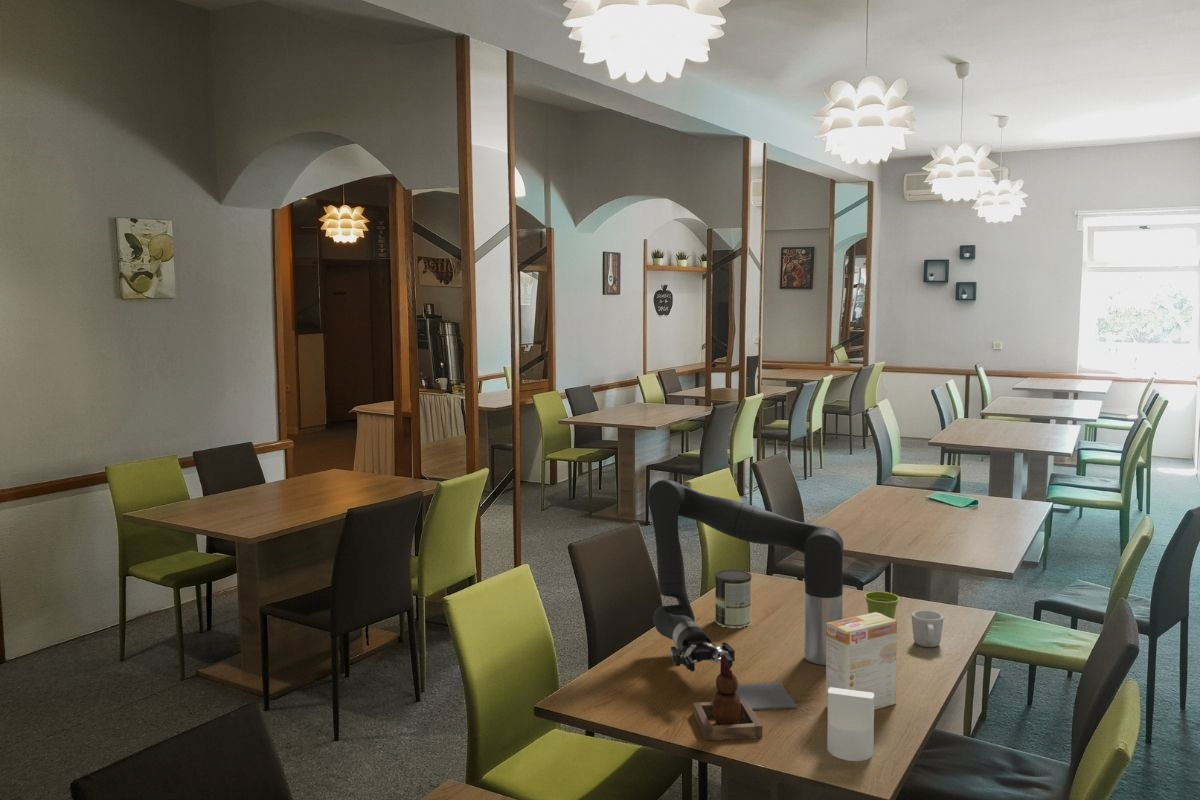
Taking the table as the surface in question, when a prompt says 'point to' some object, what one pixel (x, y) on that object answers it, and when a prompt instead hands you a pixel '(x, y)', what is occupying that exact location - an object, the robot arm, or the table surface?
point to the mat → (765, 696)
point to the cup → (927, 628)
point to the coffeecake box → (863, 656)
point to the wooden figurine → (726, 697)
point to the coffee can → (733, 598)
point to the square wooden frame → (727, 731)
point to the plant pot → (882, 603)
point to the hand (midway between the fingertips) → (711, 665)
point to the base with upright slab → (850, 724)
